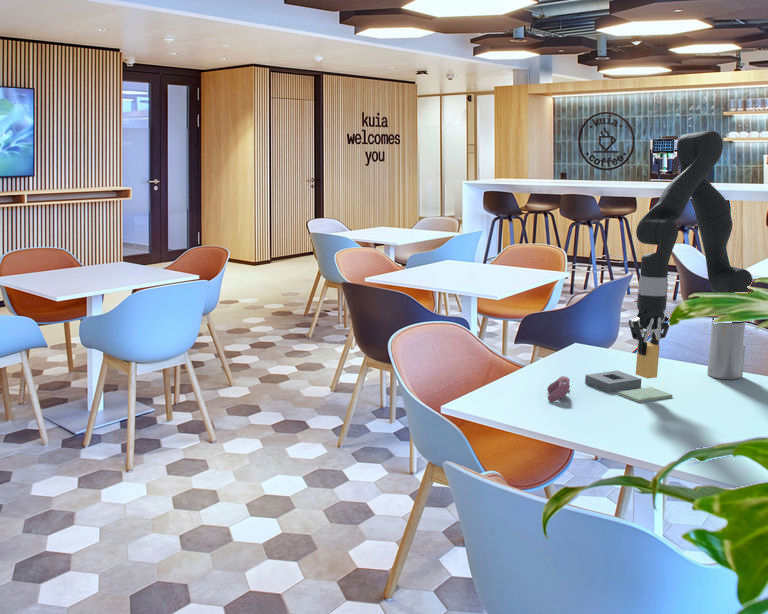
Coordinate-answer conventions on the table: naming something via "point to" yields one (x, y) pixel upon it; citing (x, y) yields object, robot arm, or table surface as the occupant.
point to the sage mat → (645, 394)
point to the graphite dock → (613, 381)
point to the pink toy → (558, 389)
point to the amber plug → (648, 362)
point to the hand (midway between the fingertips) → (647, 353)
